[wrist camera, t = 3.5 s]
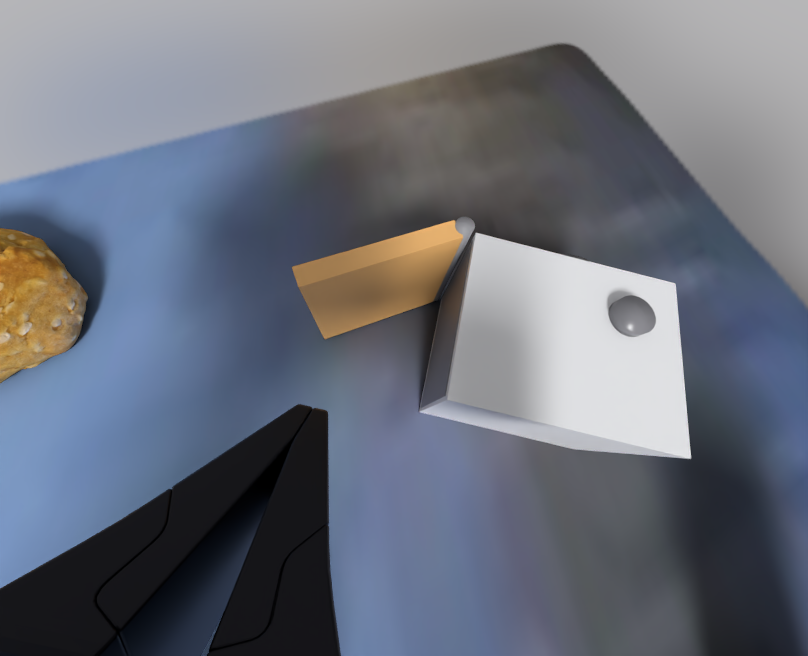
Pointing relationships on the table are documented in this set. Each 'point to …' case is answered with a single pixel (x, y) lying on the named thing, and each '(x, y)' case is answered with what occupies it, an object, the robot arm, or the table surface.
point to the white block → (559, 352)
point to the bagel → (35, 303)
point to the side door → (382, 277)
